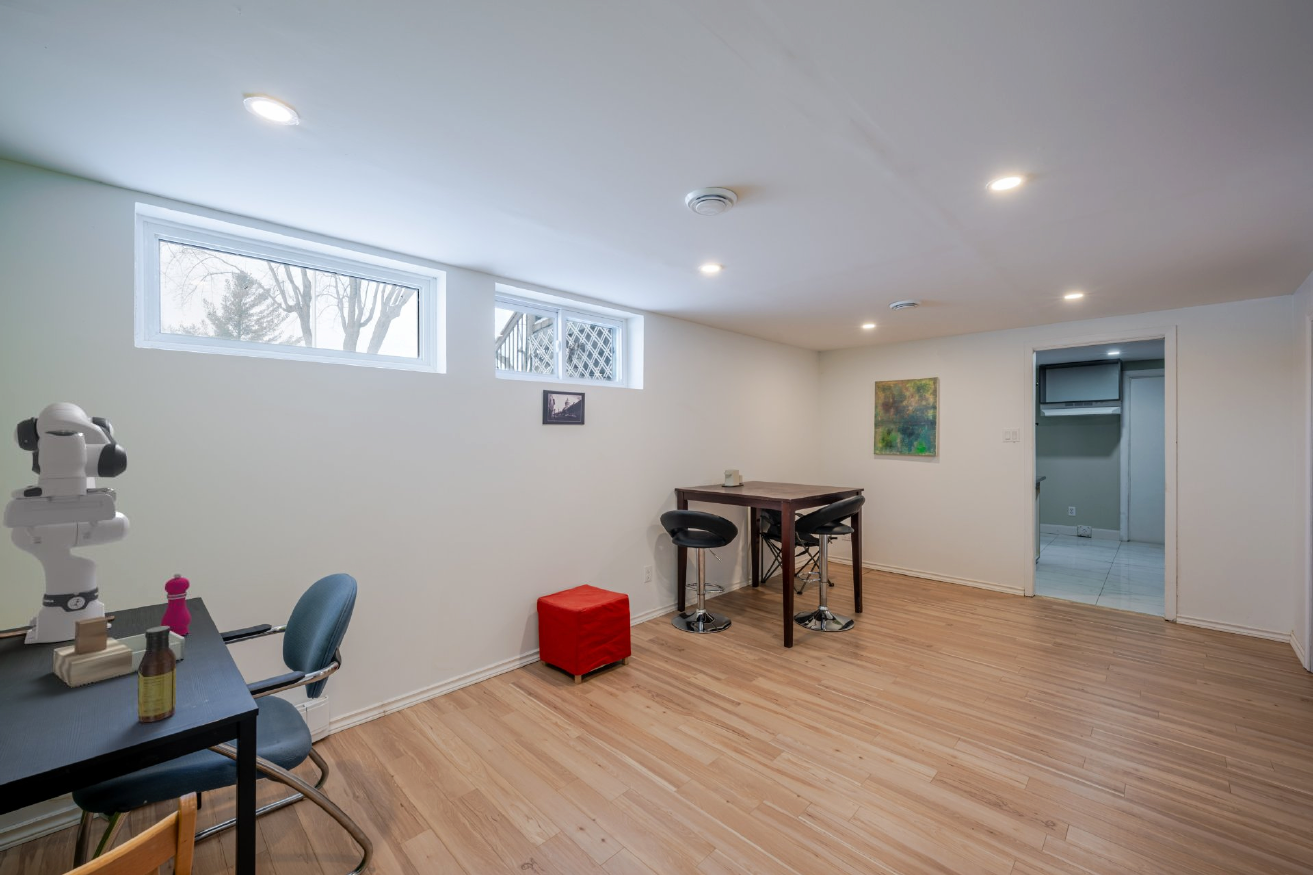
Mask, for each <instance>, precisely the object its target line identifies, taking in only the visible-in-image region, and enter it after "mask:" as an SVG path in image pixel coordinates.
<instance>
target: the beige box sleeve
mask: <svg viewBox="0 0 1313 875" xmlns="http://www.w3.org/2000/svg"><path fill="white" fill-rule="evenodd" d="M74 645H75V644H73V645H68V646H64V647H63V646H62V647H59V648H54V649H53V666H52V672H53V673H54V674H55V675H56V676H57V675H58V676H59V677H58V676H57V677H58V678H60V680H62V681H63V682H64V683H65V682H66V683H67V684H66V683H65V684H66V685H68V687H70V686H71V687H70V688H71V689H72V687H73V688H75V687H74V686H77V687H81V686H84V685H83V684H85V685H89V684H92V683H91V682H93V683H97V682H100V680H101V681H104V680H107V679H112V678H116V677H120V676H122V675H123V676H124V675H128V674H131V673H133V672H132V649H130V648H128V647H127V646H125V645H123V644H122V643H120V642H118V641H117V639H115V638H114V637H112V636H111V637H107V649H105V650H101V651H96V652H91V653H87V654H82V655H79V654H77V653H76V652H75V651H74ZM119 675H120V676H119ZM88 683H89V684H88ZM80 685H81V686H80Z"/></svg>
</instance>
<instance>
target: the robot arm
mask: <svg viewBox="0 0 1313 875" xmlns="http://www.w3.org/2000/svg"><path fill="white" fill-rule="evenodd" d="M114 436H115V429H114V427H113V426H112V424H111V423H110V420H108V419H107V418H104V417H99V416H92V417H88V416H87V414H86V413H85V411H84V410H83V409H82V408H81V407H79V406H78V405H77V404H74V403H72V402H71V403H70V402H67V401H65V402H64V401H63V402H62V401H60V402H55V403H51V404H49V405H47V406H46V407H44V409H43V410H42V411H41V412H40V413H39V415H38V417H34V416H32V417H30V418H28V419H25V420H22V421H20V422H19V423H18V424H16V427H15V429H14V432H13V437H14V441H15V442H16V444H17V445H18V446H19V448H20V449H22V450H23V451H29V452H31V454H32V455H31V456H32V466H31V471H32V472H33V473H35V474H37V475H38V477H37V484H36V485H35V484H34V485H27V487H23V488H22V487H21V488H19V489H15V490H12V492H11V493H10V497H11V498H12V500H10V501H9V502H7V504H6V506H5V509H4V512H3V520H2V524H3V526H4V527H5V528H7V529H12V530H11V532H10V538H11V541H12V543H13V544H14V545H15V547H17V548H18V549H19V550H21V551H23V552H26V553H29V554H31V555H32V556H34V558H36V559H37V560H38V561H39V562H40V564H41V565H42V567H43V570H44V576H45V593H44V594H43V597H42V608H40V611H39V612H38V614H36V616H33V617H31V618H29V626H30V627H32V628H31V629H29V630H27V633H26V636H25V640H24V644H25V645H27V644H28V645H29V644H37V643H38V644H39V643H56V642H63V641H64V642H65V641H69V640H75V621H78V620H83V619H89V618H94V617H100V616H103V617H105V618H106V616H105V615H106V614H105V603H103V602H101V601H100V600H98V599H99V594H100V591H99V586H98V585H97V584H98V583H97V582H98V566H97V564H96V562H95V561H93V560H91V559H88V558H87V557H86V558H85V557H82V556H78V555H77V556H76V555H73V554H72V553H71V549H73V548H79V547H90V546H101V545H106V544H112V543H114V542H115V543H116V542H119V541H122V540H123V539H124V538H126V536H127V535H128V533H129V531H130V529H131V522H130V519H129V518H128V517H127V515H125V514H124V513H123V512H120V511H117V510H116V505H115V502H116V500H117V492H116V491H115V490H114V489H112V488H109V487H100V488H98V487H96V479H95V478H116V477H118V476H120V475H121V474H123V473H124V472H125V471H126V470H127V468H128V465H129V456H128V452H126V449H125V448H124V447H123V446H121V445H120V444H119V443H118V442H117V441H116V440H115V438H114ZM97 586H98V587H97ZM109 628H112V624H111V623H109V622H108V623H107V629H109Z"/></svg>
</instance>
